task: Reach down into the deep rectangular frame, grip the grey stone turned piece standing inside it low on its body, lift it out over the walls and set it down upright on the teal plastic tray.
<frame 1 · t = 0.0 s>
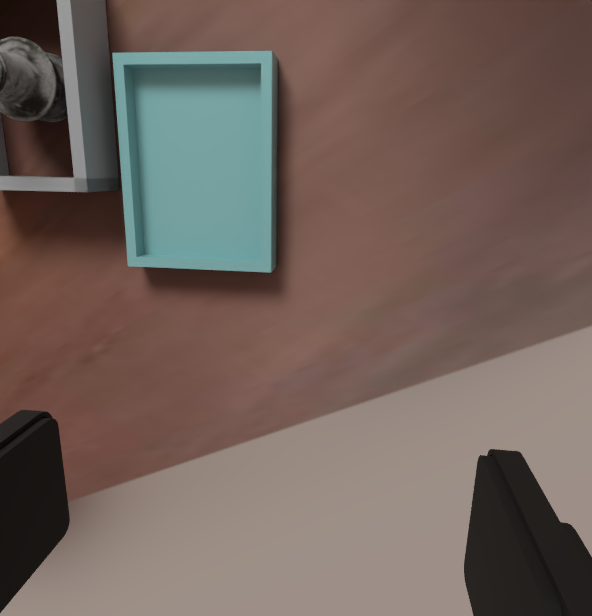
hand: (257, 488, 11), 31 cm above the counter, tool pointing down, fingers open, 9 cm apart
tray: (204, 167, 40), on the counter
deep rectangular frame: (48, 88, 40), on the counter
grey stone turned piece: (50, 88, 40), resting in deep rectangular frame
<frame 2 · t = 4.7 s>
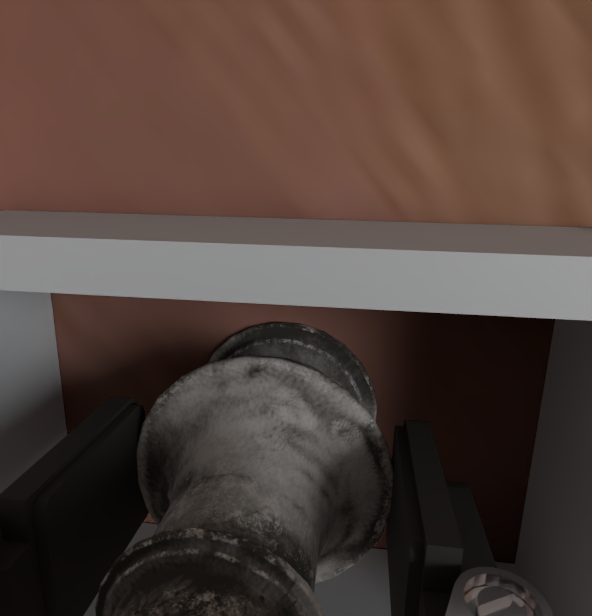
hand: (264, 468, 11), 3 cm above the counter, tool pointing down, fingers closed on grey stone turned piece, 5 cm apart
deep rectangular frame: (285, 408, 14), on the counter
grey stone turned piece: (286, 405, 15), resting in deep rectangular frame, touching gripper
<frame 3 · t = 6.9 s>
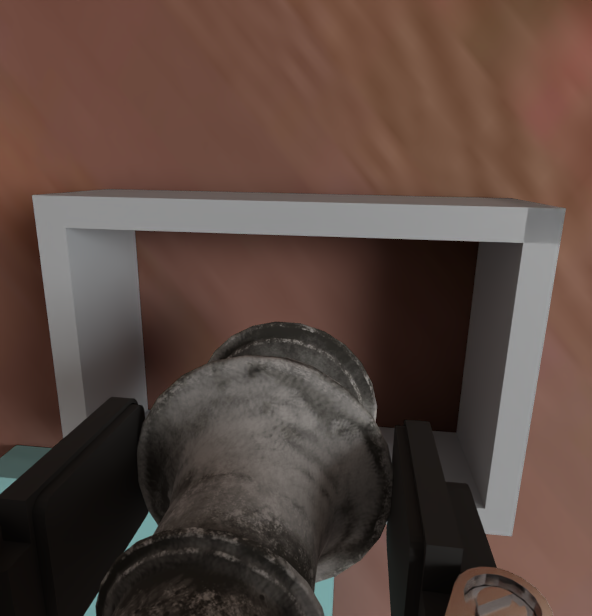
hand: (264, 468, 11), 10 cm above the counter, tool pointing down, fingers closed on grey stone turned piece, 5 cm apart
tray: (177, 561, 25), on the counter
deep rectangular frame: (298, 325, 21), on the counter
grey stone turned piece: (286, 405, 15), point 7 cm above the counter, touching gripper
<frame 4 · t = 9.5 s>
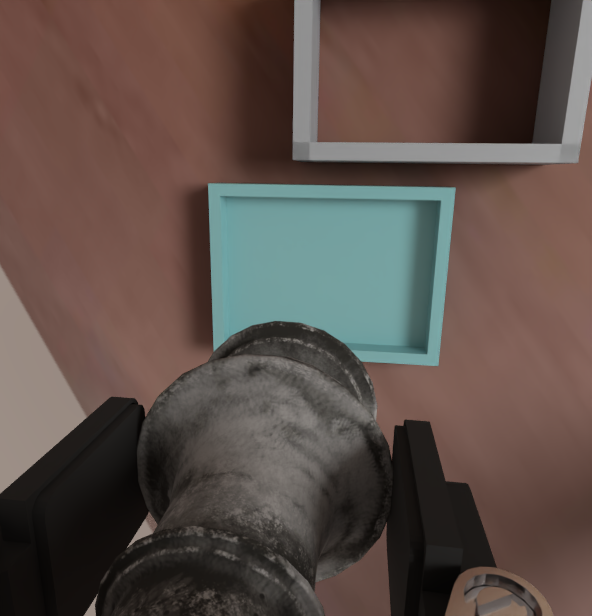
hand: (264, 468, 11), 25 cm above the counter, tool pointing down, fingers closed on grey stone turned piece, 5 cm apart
tray: (327, 269, 36), on the counter
deep rectangular frame: (427, 74, 31), on the counter
grey stone turned piece: (286, 404, 15), point 22 cm above the counter, touching gripper
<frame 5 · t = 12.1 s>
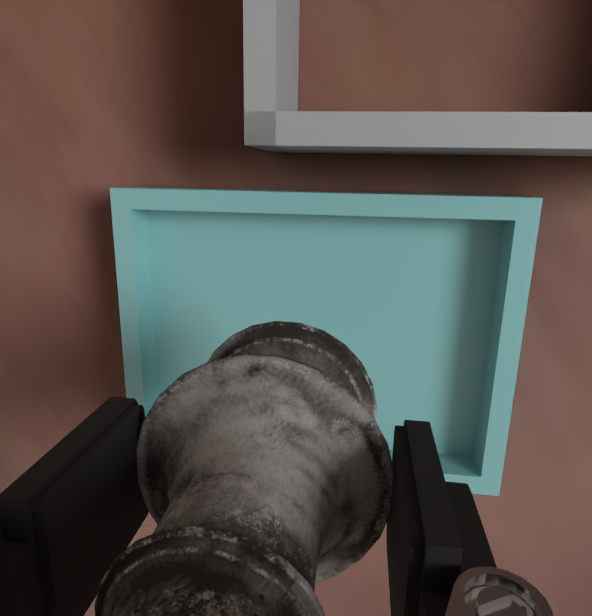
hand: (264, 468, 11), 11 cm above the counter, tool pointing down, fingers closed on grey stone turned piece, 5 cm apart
tray: (315, 327, 22), on the counter
grey stone turned piece: (286, 404, 14), point 8 cm above the counter, touching gripper
when the fingers open (5 cm above the counter, at t = 14.2 s): grey stone turned piece drops 1 cm, resting on tray.
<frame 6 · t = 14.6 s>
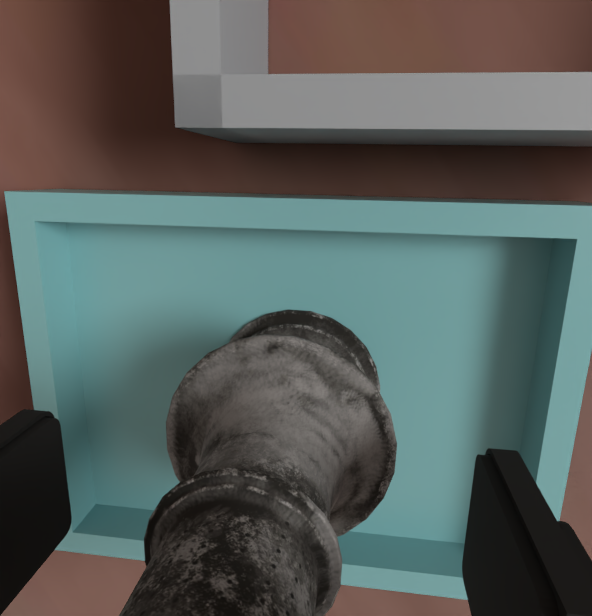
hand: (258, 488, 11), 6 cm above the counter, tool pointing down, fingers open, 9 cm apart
tray: (296, 375, 17), on the counter
grey stone turned piece: (297, 386, 16), point 1 cm above the counter, touching tray
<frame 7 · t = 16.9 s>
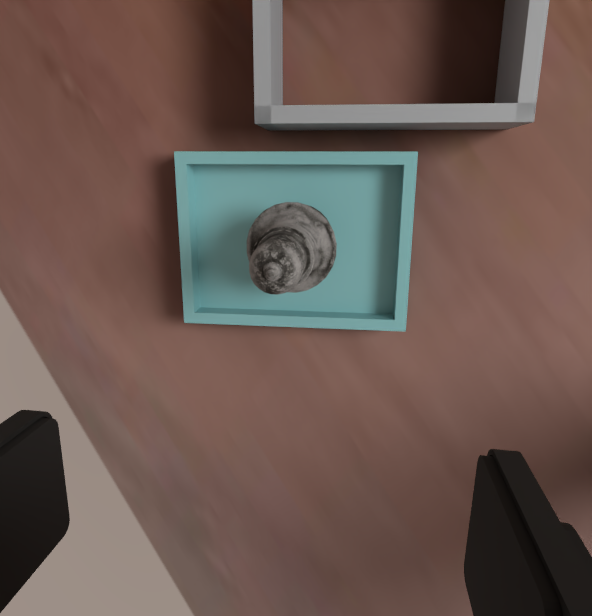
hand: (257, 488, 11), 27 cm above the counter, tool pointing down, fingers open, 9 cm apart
tray: (296, 238, 36), on the counter
deep rectangular frame: (389, 40, 32), on the counter
grey stone turned piece: (297, 240, 35), point 1 cm above the counter, touching tray
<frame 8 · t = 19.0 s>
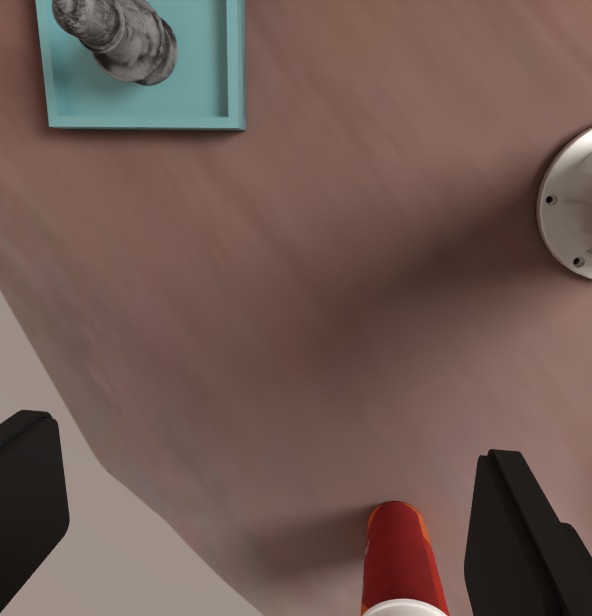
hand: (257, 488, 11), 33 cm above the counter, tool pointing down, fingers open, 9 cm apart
paper cup: (396, 524, 49), on the counter
tray: (149, 52, 40), on the counter
grey stone turned piece: (147, 50, 39), point 1 cm above the counter, touching tray
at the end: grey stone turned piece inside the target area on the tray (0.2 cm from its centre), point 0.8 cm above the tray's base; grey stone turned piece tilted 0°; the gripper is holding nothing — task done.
